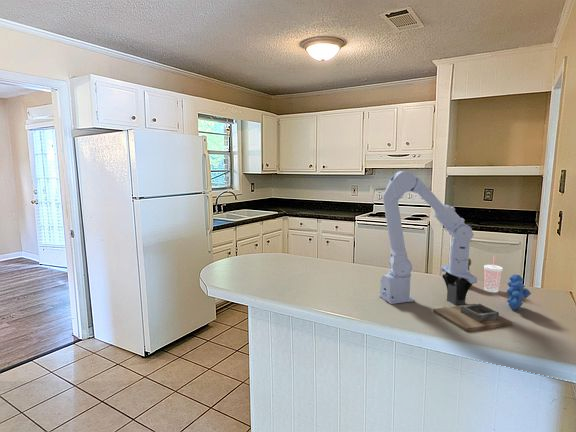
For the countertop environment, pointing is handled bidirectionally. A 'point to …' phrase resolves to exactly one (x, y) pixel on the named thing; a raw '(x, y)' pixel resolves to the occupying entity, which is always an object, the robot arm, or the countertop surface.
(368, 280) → the countertop surface
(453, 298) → the plug
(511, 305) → the grapes
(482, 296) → the countertop surface
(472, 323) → the charging dock
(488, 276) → the beverage cup
